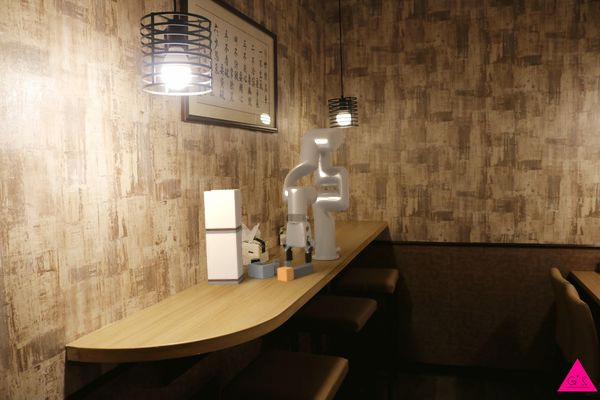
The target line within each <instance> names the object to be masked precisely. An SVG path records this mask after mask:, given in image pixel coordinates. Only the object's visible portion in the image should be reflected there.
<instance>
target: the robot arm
mask: <svg viewBox="0 0 600 400" xmlns="http://www.w3.org/2000/svg"><path fill="white" fill-rule="evenodd" d="M343 139H344V138H343V132H342V130H341V129H340V128H338V127H329V128H328V127H327V128H312V129H308V130H307V131H305V132H304V133H303V138H302V141H301V145H300V151H299V152H300V153H299V158H298V163H297V164H296V165H295V166H294V167H293V168H291V170H290V171H289V172H288V173H287V175H286V177H285V179H284V182H283V187H282V194H281V195H282V196H281V197H282V201H283V202H284V204H286V205H287V216H288V217H287V220H288V221H287V222H286V231H285V237H283V238H282V239H281V240H280V242H281V245H282V247H283V249H284V252H285V259H286V260H285V261H291V262H292V261H293V259H294V258H293V256H294V255H293V253H294V252H293V250H292V249H293V248H297V249H298V248H299V249H304V251H305V253H304V259H305V260H304V262H305V263H304V264H311V263H312V262H313V261H312V260H314V261H334V260H337V259H339V258H340V256H339V255H340V254H337V253H339V252H341V248H340V247H336V224H335V223H336V221H335V218H334V216H333V215H332V214H331V212H344V211H347V210H349V207H350V180H349V179H350V176H349V172H348V169H347V168H346V167H345V166H341V165H340V166H339V165H338V166H334V165H333V159H332V158H333V157H332V154H331V153H333V152H335V151H337V149H338V148H340V147H341V146H342V144H343ZM310 174H313V181H314V185H315V186H316V187H318V188H337V190H333V189H332V190H330V189H329V190H328V189H326V190H324V189H323V190H322V189H321V190H317V188H316V187H314V186H311V185H295V184H296V183H297V182H298V181H299V180H301V179H302V178H304V177H306V176H308V175H310ZM308 205H311V206H312V213H313V226H314V227H313V228H314V229H313V230H314V232H313V233H314V239H313V237H312V229H311V224H310V221H308V220H309V219H310V217H309V215H308ZM313 252H314V254H312V253H313Z"/></svg>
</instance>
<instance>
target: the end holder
mask: <svg viewBox="0 0 600 400" xmlns="http://www.w3.org/2000/svg"><path fill="white" fill-rule="evenodd" d="M261 263H262V261H260V262H255V263H251V262H250V263H247V269H248V270H247V277H248V278H253V277H255V278H254V279H259V278H260V280H261V279H262V280H264V279H268V278H272V277H275V275H274V263H273V262H272V263H268V264H267V265H263V266H262V265H261Z"/></svg>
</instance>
